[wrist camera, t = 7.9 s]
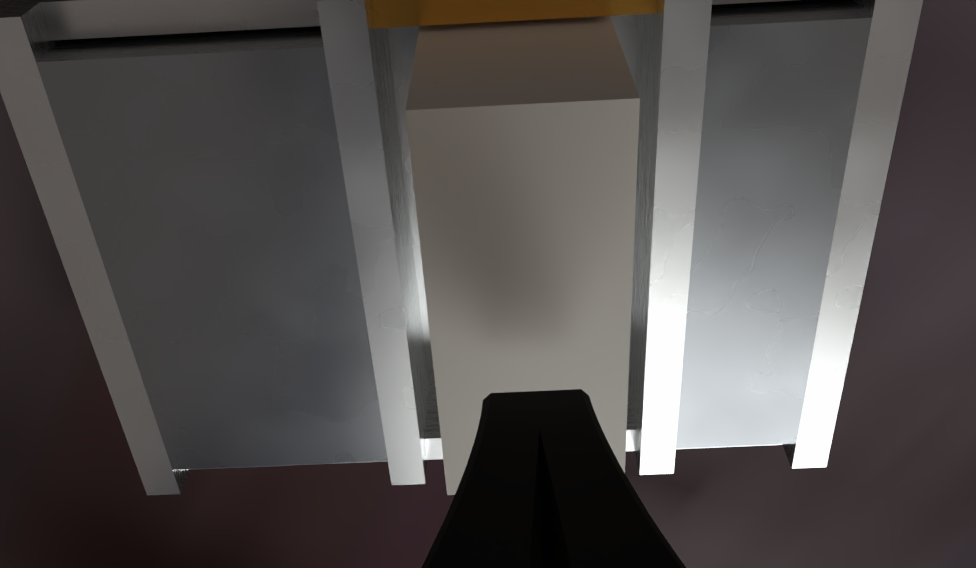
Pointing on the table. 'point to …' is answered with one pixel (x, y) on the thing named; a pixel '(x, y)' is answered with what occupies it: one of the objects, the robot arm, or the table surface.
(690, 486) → the table surface
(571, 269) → the beige rectangular block
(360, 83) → the rack
